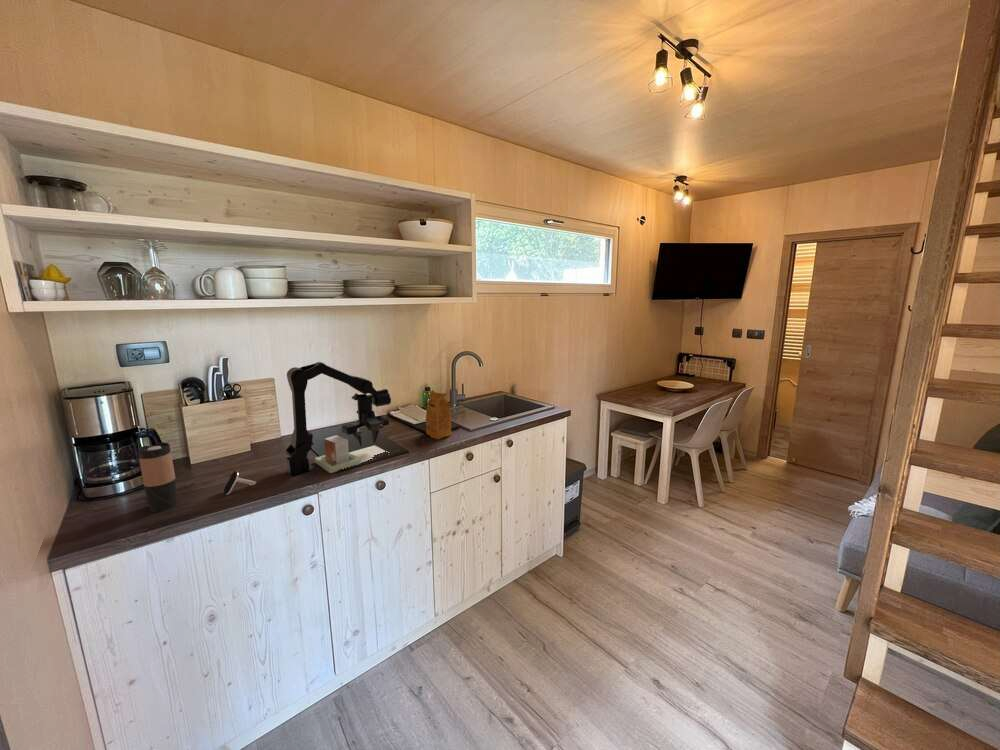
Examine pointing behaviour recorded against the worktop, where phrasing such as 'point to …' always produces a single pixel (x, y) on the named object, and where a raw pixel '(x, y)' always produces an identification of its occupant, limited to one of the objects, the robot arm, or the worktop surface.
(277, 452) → the worktop surface
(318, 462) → the pocket frame
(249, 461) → the worktop surface
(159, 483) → the travel mug
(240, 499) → the worktop surface
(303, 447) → the robot arm
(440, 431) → the coffee package
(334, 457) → the small box
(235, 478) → the rubber stamp
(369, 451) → the plate
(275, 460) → the worktop surface
